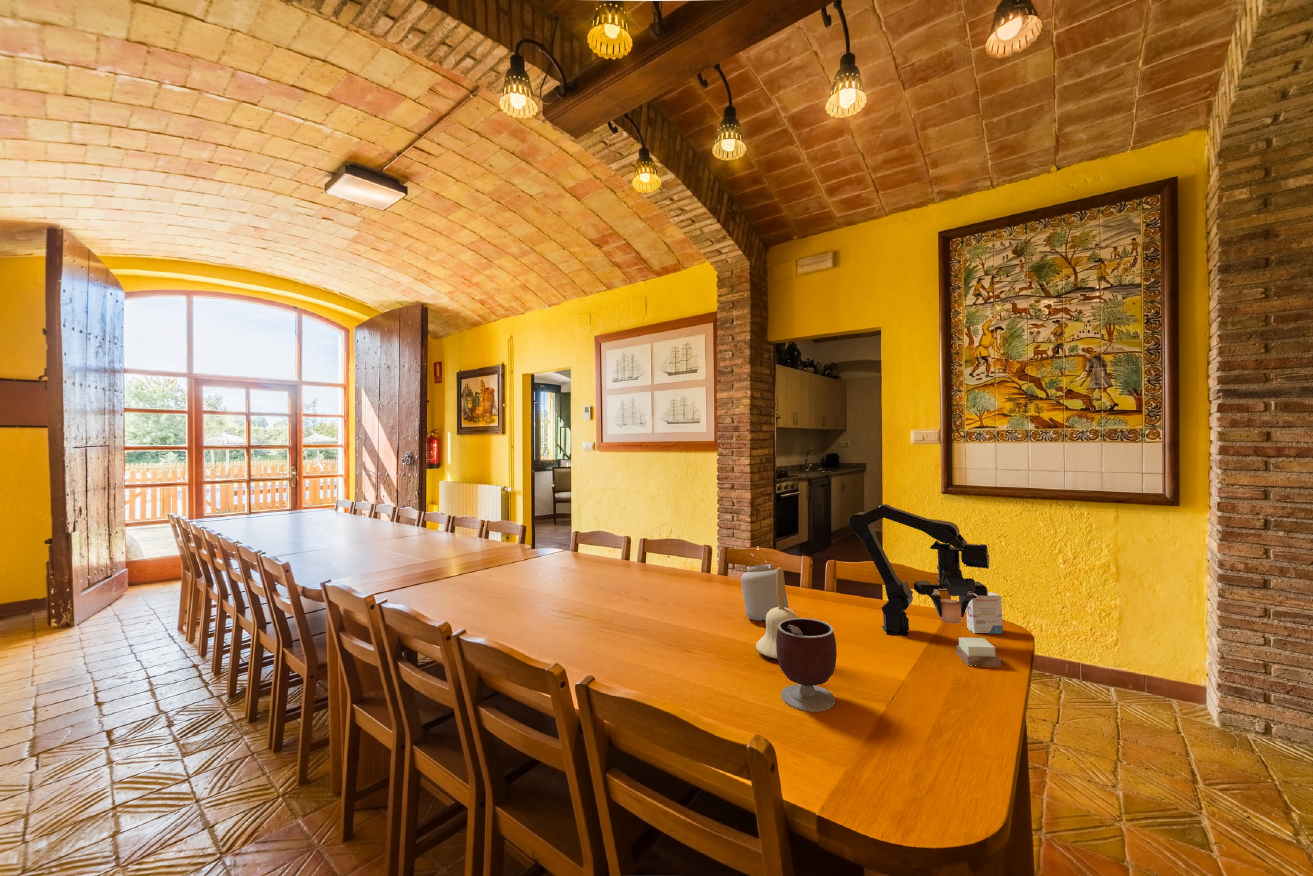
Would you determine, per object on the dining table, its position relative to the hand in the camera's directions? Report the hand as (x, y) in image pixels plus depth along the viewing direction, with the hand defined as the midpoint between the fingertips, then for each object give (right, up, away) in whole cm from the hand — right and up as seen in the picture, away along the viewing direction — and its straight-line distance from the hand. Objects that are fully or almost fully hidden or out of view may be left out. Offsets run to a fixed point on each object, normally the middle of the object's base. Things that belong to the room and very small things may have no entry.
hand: (950, 616), depth 155 cm
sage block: (-1, -5, -14) cm, 14 cm away
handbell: (-52, -9, -5) cm, 53 cm away
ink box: (+15, -7, +7) cm, 18 cm away
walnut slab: (0, -8, -14) cm, 16 cm away
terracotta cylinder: (0, -1, 0) cm, 1 cm away
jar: (-51, -10, +26) cm, 58 cm away
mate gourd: (-53, -9, -32) cm, 62 cm away
